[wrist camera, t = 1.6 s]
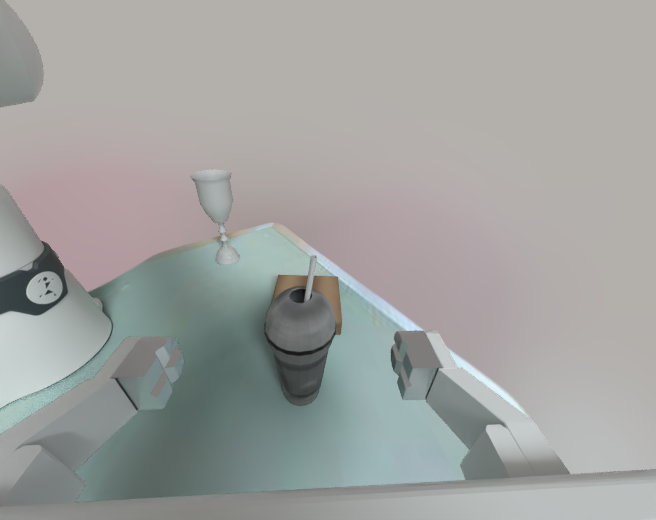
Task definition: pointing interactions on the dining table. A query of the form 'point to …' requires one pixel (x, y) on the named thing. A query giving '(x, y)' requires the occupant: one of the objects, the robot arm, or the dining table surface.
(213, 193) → the chalice
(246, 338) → the dining table surface
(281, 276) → the walnut plinth
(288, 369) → the beverage cup
